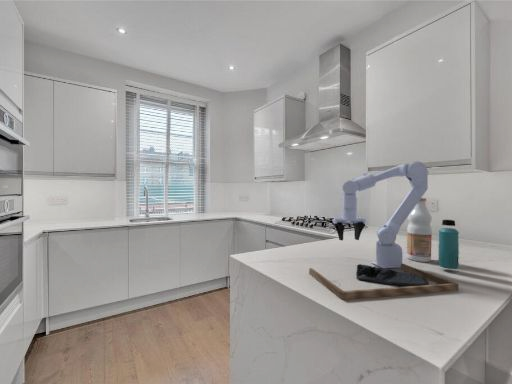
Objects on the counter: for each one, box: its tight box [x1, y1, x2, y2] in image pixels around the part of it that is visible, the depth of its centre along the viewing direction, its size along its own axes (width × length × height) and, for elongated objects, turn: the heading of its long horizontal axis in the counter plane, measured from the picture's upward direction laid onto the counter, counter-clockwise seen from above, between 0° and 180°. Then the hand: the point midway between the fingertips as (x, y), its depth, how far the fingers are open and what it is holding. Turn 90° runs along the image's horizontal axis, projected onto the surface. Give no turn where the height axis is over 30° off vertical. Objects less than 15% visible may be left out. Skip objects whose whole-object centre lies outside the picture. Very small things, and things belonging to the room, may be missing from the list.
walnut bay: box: [308, 263, 459, 301], centre depth 87 cm, size 40×22×2 cm, turn 102°
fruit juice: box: [406, 197, 432, 263], centre depth 116 cm, size 9×9×28 cm
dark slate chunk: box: [356, 263, 429, 287], centre depth 89 cm, size 15×22×5 cm
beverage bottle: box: [437, 219, 460, 270], centre depth 100 cm, size 6×7×20 cm
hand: (348, 239), depth 111 cm, fingers open, 7 cm apart
